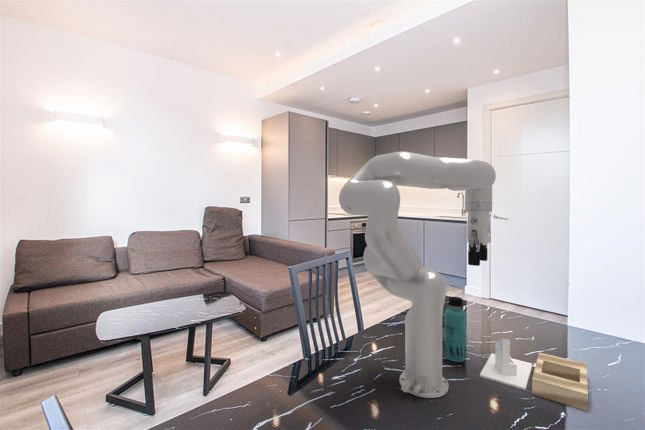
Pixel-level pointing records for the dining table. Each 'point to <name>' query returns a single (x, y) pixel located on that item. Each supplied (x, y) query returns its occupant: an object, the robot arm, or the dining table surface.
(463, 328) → the beverage bottle
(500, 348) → the white angled block
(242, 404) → the dining table surface
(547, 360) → the block
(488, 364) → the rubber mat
